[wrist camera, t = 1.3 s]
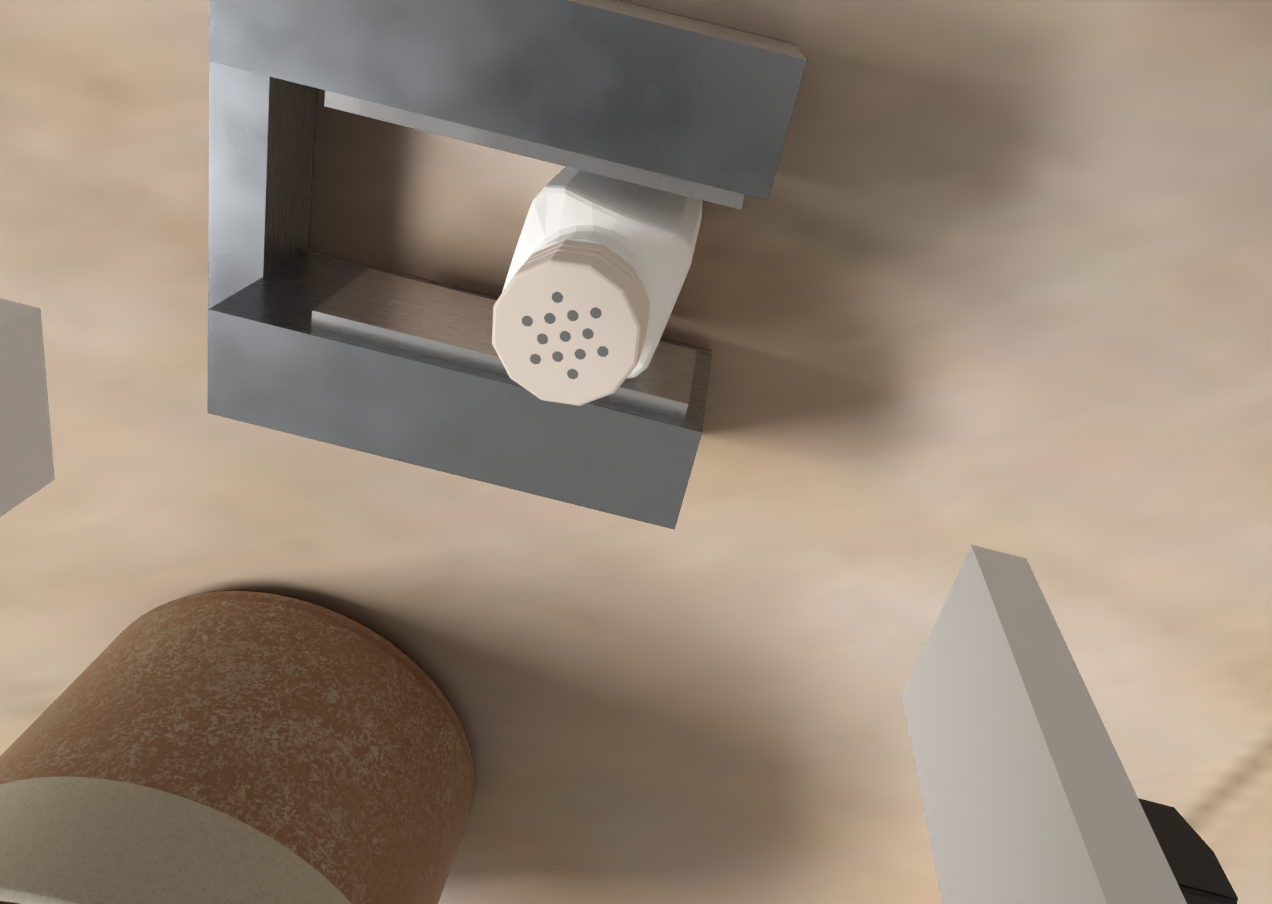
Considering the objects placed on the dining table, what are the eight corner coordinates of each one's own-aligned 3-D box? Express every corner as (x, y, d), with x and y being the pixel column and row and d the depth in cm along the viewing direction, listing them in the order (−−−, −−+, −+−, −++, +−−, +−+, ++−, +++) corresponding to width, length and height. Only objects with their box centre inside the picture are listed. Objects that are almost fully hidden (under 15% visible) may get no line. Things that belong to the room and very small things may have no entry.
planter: (41, 605, 37) (-311, 909, 25) (406, 552, 34) (210, 871, 22) (206, 880, 44) (-8, 1229, 31) (525, 858, 40) (426, 1236, 28)
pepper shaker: (711, 192, 27) (691, 285, 18) (660, 314, 29) (620, 451, 20) (582, 138, 27) (502, 209, 18) (539, 265, 29) (448, 382, 20)
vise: (255, 326, 30) (150, 398, 25) (268, -87, 25) (136, -107, 20) (688, 434, 30) (674, 529, 25) (796, 44, 25) (807, 60, 20)
